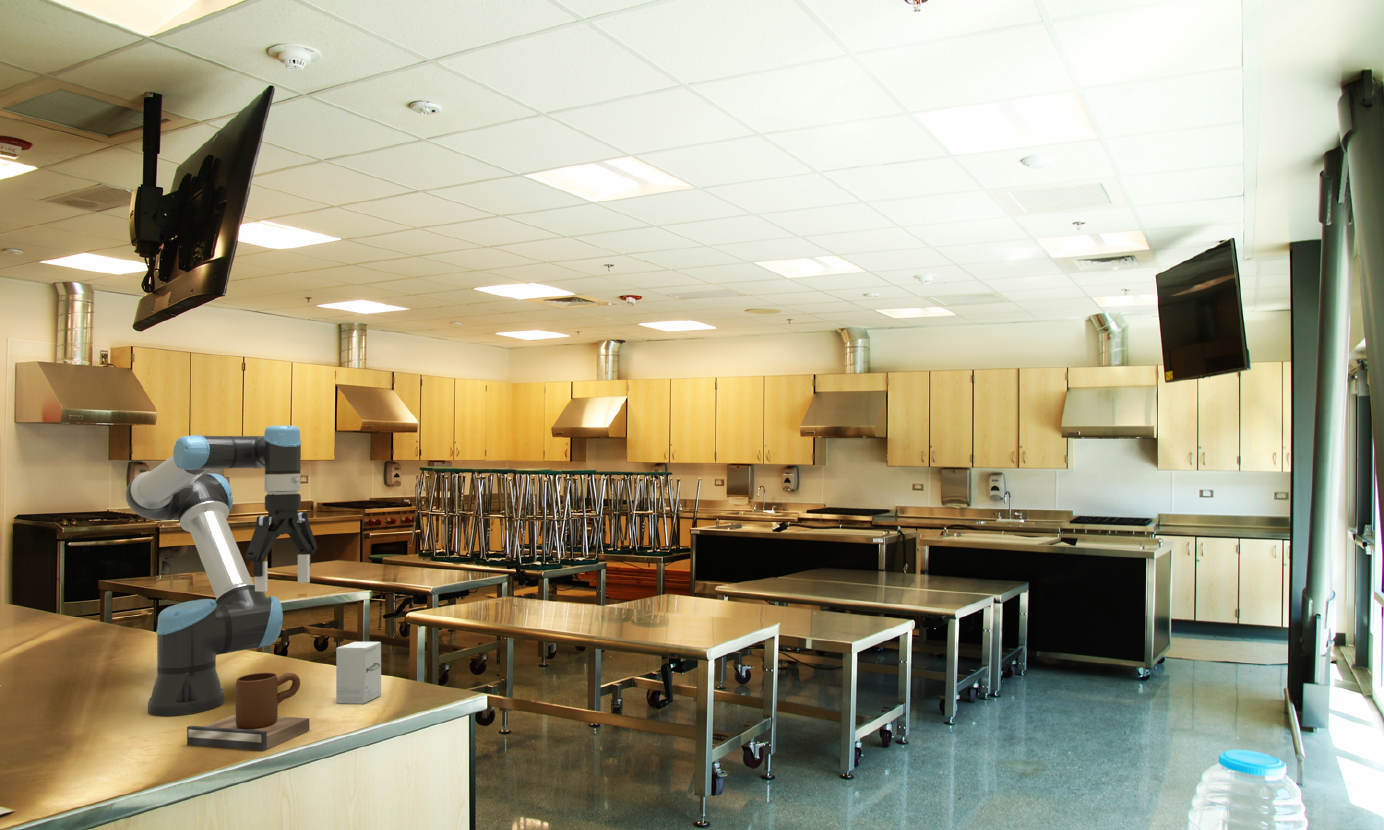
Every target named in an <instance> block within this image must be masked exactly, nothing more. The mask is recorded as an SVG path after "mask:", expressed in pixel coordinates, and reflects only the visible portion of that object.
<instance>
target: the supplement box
mask: <svg viewBox="0 0 1384 830" xmlns="http://www.w3.org/2000/svg"><path fill="white" fill-rule="evenodd" d="M335 649H336V651H335V652H336V655H335V656H336V658H335V659H336V660H335V661H336V665H335V666H336V668H335V669H336V671H335V673H336V674H335V675H336V676H335V677H336V679H335V681H336V683H335V684H336V688H335V689H336V691H335V692H336V693H335V694H336V695H335V696H336V698H335V699H336V704H349V705H350V704H353V705H354V704H355V705H357V704H359V705H365V704H367V703H368V702H370V701H373V700H374V699H376V698H378V697H381V696H382V642H381V641H353V642H352V641H351V642H350V643H348V644H345V645H341V646H339V647H336V648H335Z"/></svg>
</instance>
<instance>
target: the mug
mask: <svg viewBox="0 0 1384 830" xmlns="http://www.w3.org/2000/svg"><path fill="white" fill-rule="evenodd" d="M300 679H301V678H300V677H299V676H298V674H296V673H293V672H287V673H284V674H282V675H281V676H279V677H278V675H277V674H276V673H274V672H257V673H251V674H250V673H249V674H246V675H241V676H240V677H238V678H236V679H235V680H236V681H235V682H236V683H235V714H236V725H237V727H238V728H241V729H256V728H262V727H266V726H269V725H272V724H274V723H275V722H276V721H277V716H278V709H279V708H278V706H279V705H280V703H282V702H283V701H284V700H286V699H290V698H292V697H293V696H295V695H296V693H297V692H298V691H299V689H300V687H301V680H300ZM288 681H292V683H291V686H290V687H289V688H288V689H285V690H282V691H280V692H279V693H278V689H279V688H278V687H280V686H281V685H284V684H286V683H287V682H288Z"/></svg>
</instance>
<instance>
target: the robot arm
mask: <svg viewBox="0 0 1384 830" xmlns="http://www.w3.org/2000/svg"><path fill="white" fill-rule="evenodd" d="M301 453H302V440H301V430H300V428H299V427H298V426H296V425H268V426H267V427H265V429H264V434H263V435H199V434H197V435H196V434H194V435H186V436H185V435H183V436H180V437H179V438H177V440H176V441H175V443H174V445H173V452H172V455H171V456H169V457H168V458H166V459H165V460H164V461H163V462H162V463H160V464H158V466H156V467H155V468H153V469H152V470H147V471H144V472H141V473H139V474H138V475H137V476H135V477H134V478H133V479H132V480H131V481H130V482H129V484H128V485H127V487H126V490H125V501H126V502H127V503H126V504H127V505H128V506H129V508H130V509H131V511H132V512H134V513H135V514H137V515H138V516H140V517H142V518H145V519H147V520H154V521H169V520H170V521H171V520H173V521H174V520H178V523H179V525H180V527H181V528H182V530H184V531H185V532H189V533H190V535H191V537H192V540H193V542H194V545H195V547H196V550H197V553H198V556H199V558H200V560H201V563H202V566H203V568H204V571H205V573H206V576H207V579H208V581H209V584H210V587H211V588H212V589H211V590H212V591H213V594H214V596H215V598H216V599H212V598H201V599H196V600H188V601H184V602H180V603H177V604H174V605H171V606H168V607H166V608H164V609H163V610H161V611H160V613H158V616H157V625H156V626H157V627H156V639H157V640H156V641H157V642H156V648H157V649H156V653H157V654H156V657H157V658H156V661H157V662H156V664H157V665H156V671H157V672H156V678H155V682H154V685H153V687H152V693H151V695H150V696H151V697H150V698H149V699H148V701H147V713H148V714H149V715H153V716H158V717H159V716H161V717H166V716H170V717H171V716H181V715H189V714H194V713H201V712H203V711H208V710H211V709H215V708H217V707H219V706H222V705H223V704H224V703H225V691H224V688H222V685H221V681H220V678H219V675H218V672H217V667H216V666H217V665H216V664H217V663H216V660H217V659H216V657H217V656H219V655H224V654H228V653H229V654H230V653H234V652H240V651H246V650H252V649H256V650H257V649H259V648H261V647H267V646H270V645H272V644H274V643H275V642H276V641H277V640H278V639H279V636H280V635H281V631H282V628H283V620H284V619H283V618H284V614H283V606H282V602H281V601H280V599H279V598H278V597H277V596H272V595H270V596H266V594H265V592H268V580H269V579H268V578H269V577H268V561H265V560H266V558H267V556H268V554H269V553H270V551H271V549H272V547H273V545H274V544H275V542H276V540H277V538H278V537H280V536H281V535H282V536H283V535H288V536H289V537H290V539H291V541H292V542H293V543H294V545H295V547H296V548H297V550H298V551H299V552H300V553H299V554H297V583H298V584H303V583H304V584H307V583H310V582H311V581H310V579H311V576H310V574H311V573H310V572H311V571H310V570H311V565H312V563H311V560H312V559H311V556H312V555H315V553H316V551H317V550H318V545H317V542H316V539H315V537H314V533H313V531H312V528H311V525H310V523H309V514H308V512H298V511H299V510H300V509H301V506H302V497H301V496H302V495H301V494H300V493H299V492H300V491H301V490H302V489H301V467H302V466H301V463H302V459H301V458H302V454H301ZM221 469H223V470H224V469H225V470H226V469H227V470H228V469H264V492H265V493H267V494H265V496H264V511H266V512H267V515H260V516H257V517H256V524H255V529H254V531H253V534H252V536H251V540H250V543H249V545H248V548H247V550H246V553H245V556H244V557H245V560H248V561H249V563H250V562H252V563H253V570H252V571H253V574H252V575H253V577H254V582H253V580H252V578H251V575H250V573H249V571H248V568H247V566H246V564H245V561H244V559H243V556H242V554H241V551H240V549H239V546H238V544H237V542H236V540H235V537H234V535H233V532H232V530H231V528H230V525H229V523H228V521H227V519H228V517H229V515H230V512H231V510H232V508H233V505H234V504H233V502H234V497H233V496H232V495H233V491H232V487H231V484H230V483H229V482H228V480H227V479H226V478H225V476H223V475H221V474H219V473H208V472H210V471H211V470H221Z"/></svg>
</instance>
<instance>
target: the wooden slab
mask: <svg viewBox="0 0 1384 830" xmlns="http://www.w3.org/2000/svg"><path fill="white" fill-rule="evenodd" d="M310 727H311V726H310V718H309V717H296V716H295V717H293V716H281V715H279V716H277V721H276V722H275V723H274V724H272V725H269V726H266V727H262V728H256V729H241V728H238V727H237V725H236V713H235V714H233V715H229V716H227V717H224V718H221V719H218V720H216V721H213V722H210V723H208V724H205V725H202V726H200V725H189V726H187V727H186V745H187V746H197V747H208V748H209V747H210V748H219V749H221V748H223V749H233V750H234V749H235V750H246V751H261V752H264V751H267V750H269V749H271V748H273V747H276V746H278V745H280V744H282V743H283V744H284V743H285V742H288V741H289V740H292V739H294V738H297V737H298V736H301V735H303V734H306V733H307V732H310V731H311V729H310Z"/></svg>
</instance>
